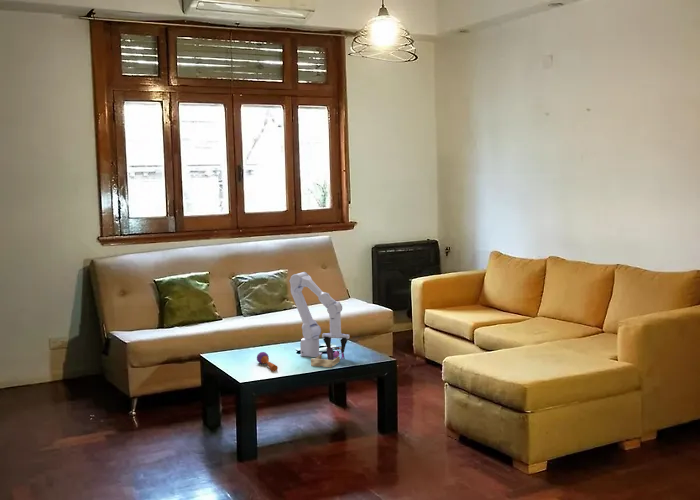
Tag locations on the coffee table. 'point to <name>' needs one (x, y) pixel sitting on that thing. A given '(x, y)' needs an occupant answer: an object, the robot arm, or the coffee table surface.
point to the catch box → (324, 361)
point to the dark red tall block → (335, 354)
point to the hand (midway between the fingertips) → (336, 351)
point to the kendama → (266, 360)
